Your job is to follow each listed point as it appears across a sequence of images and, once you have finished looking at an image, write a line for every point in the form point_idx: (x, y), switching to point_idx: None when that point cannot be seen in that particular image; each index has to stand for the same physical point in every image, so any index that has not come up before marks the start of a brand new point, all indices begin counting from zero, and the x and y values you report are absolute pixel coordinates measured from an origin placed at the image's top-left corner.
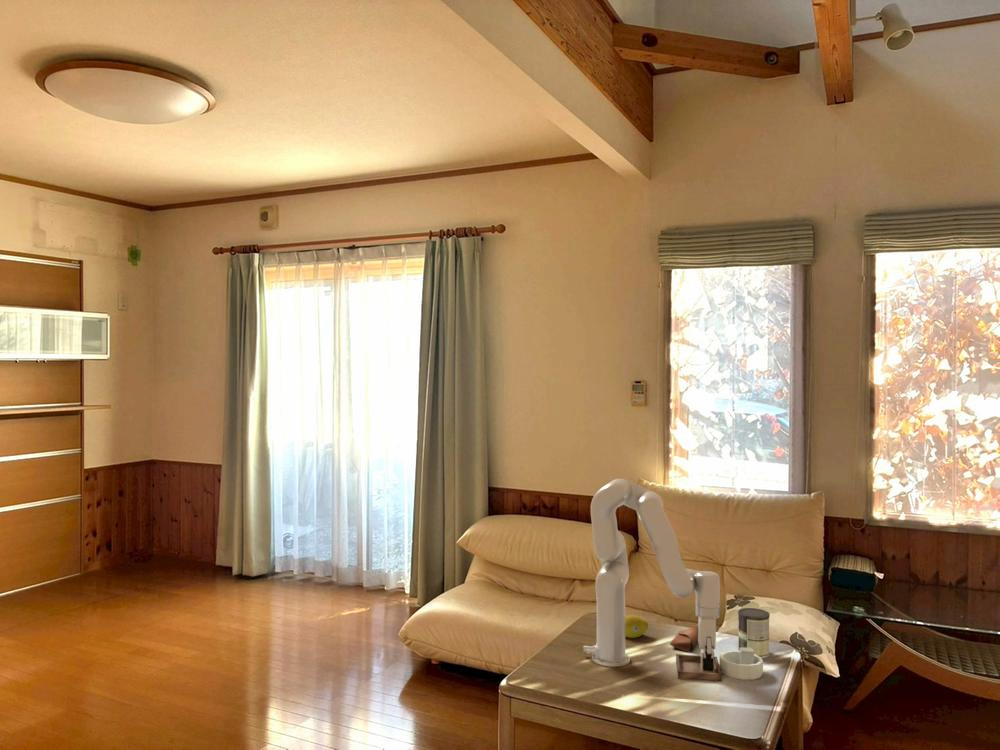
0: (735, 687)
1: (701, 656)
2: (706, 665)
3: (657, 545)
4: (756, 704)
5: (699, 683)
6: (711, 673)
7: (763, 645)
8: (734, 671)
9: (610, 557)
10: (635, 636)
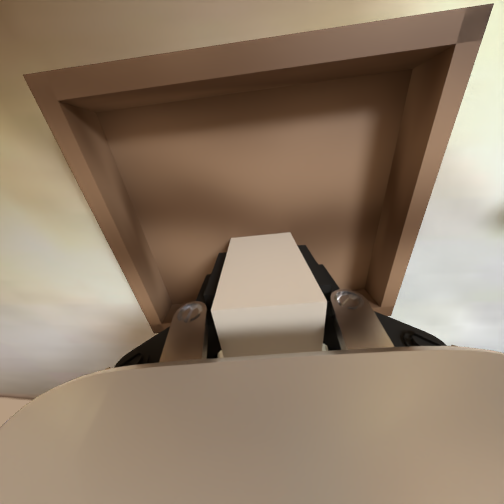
0: (140, 343)
1: (218, 287)
2: (204, 284)
3: None
4: (49, 379)
5: (91, 230)
6: (141, 298)
7: None
8: None
9: None
10: None
